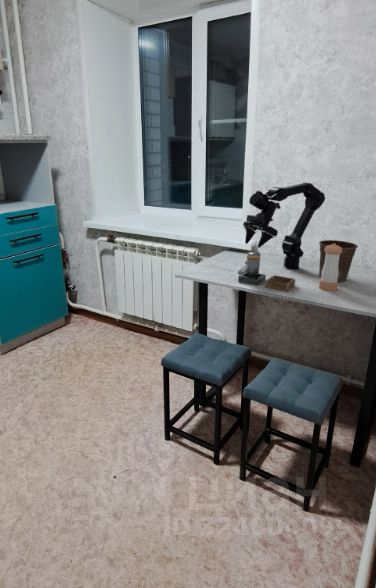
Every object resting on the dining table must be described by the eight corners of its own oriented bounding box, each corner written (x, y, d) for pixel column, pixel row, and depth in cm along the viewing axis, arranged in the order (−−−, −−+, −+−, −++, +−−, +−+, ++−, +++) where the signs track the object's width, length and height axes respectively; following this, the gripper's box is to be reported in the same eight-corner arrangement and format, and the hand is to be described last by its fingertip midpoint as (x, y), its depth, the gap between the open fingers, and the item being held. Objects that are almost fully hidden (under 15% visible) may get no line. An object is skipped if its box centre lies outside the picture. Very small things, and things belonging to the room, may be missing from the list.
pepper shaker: (315, 287, 169) (321, 243, 163) (323, 284, 174) (330, 241, 168) (331, 292, 164) (338, 246, 158) (339, 288, 169) (346, 244, 163)
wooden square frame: (273, 281, 176) (274, 275, 175) (294, 285, 171) (295, 278, 170) (265, 287, 168) (265, 280, 167) (287, 291, 164) (288, 284, 163)
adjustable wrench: (242, 275, 186) (242, 272, 185) (229, 273, 189) (229, 270, 188) (260, 263, 206) (260, 260, 206) (248, 261, 209) (248, 258, 209)
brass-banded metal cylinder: (256, 278, 180) (259, 251, 175) (259, 282, 174) (262, 254, 170) (244, 278, 179) (246, 251, 175) (246, 282, 174) (248, 254, 170)
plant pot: (354, 277, 185) (360, 242, 180) (348, 286, 172) (354, 249, 167) (319, 271, 193) (323, 238, 188) (310, 279, 180) (315, 244, 175)
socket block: (246, 276, 183) (247, 271, 182) (265, 280, 178) (265, 274, 177) (238, 281, 175) (238, 276, 174) (257, 285, 171) (257, 279, 170)
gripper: (242, 204, 184) (227, 235, 186) (268, 209, 169) (252, 243, 170) (258, 213, 191) (244, 243, 192) (285, 219, 175) (269, 252, 177)
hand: (252, 245), depth 183 cm, fingers open, 9 cm apart
